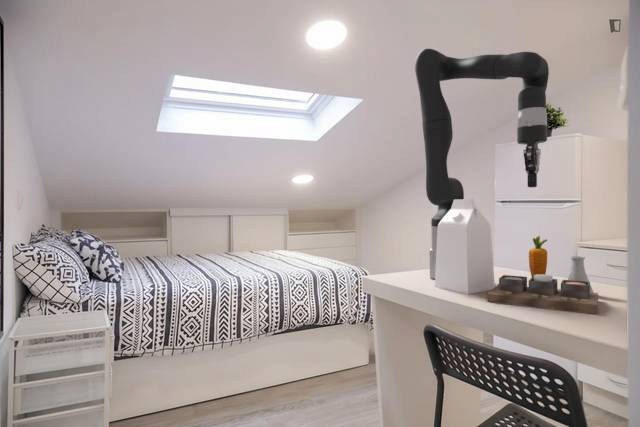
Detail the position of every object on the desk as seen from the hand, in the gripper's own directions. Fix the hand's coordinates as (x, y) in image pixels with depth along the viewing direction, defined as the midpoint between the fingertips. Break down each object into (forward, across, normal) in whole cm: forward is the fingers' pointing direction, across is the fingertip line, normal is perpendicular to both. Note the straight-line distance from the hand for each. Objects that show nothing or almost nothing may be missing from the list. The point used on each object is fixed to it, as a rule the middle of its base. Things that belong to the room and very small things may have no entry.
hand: (532, 187), depth 117 cm
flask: (+29, +1, +11) cm, 31 cm away
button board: (+29, +15, +4) cm, 33 cm away
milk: (+29, +8, -17) cm, 35 cm away
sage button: (+26, +13, -3) cm, 29 cm away
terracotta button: (+26, +13, +11) cm, 31 cm away
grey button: (+25, +13, +4) cm, 28 cm away
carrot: (+29, -3, +1) cm, 29 cm away
